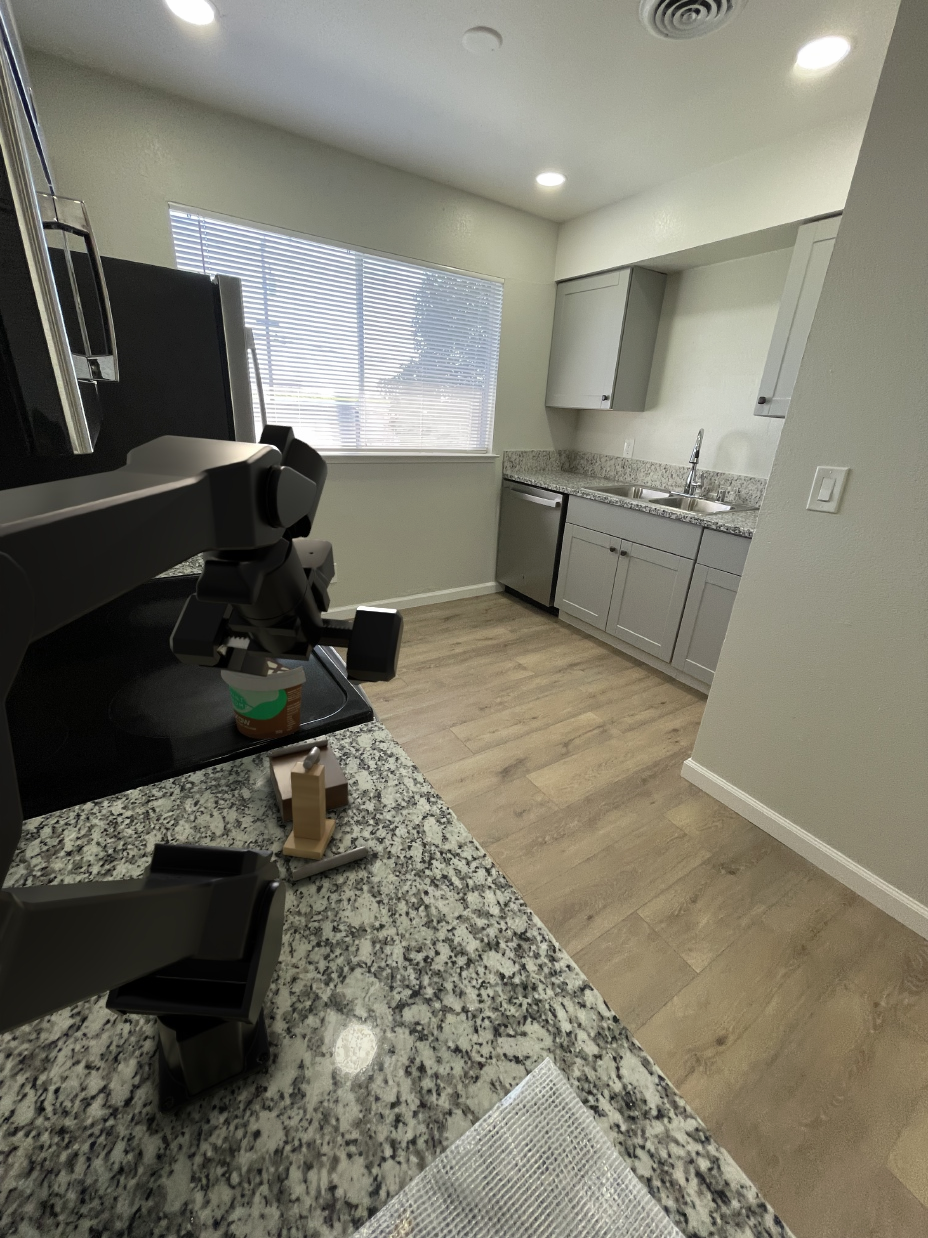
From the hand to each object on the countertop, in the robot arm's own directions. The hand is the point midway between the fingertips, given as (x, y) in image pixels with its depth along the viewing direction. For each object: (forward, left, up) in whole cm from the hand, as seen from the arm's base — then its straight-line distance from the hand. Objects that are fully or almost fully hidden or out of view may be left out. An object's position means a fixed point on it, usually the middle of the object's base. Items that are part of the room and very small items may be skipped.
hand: (311, 676), depth 51 cm
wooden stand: (-2, +1, -16) cm, 16 cm away
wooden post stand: (-5, +2, -16) cm, 17 cm away
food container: (+17, +4, -16) cm, 23 cm away
